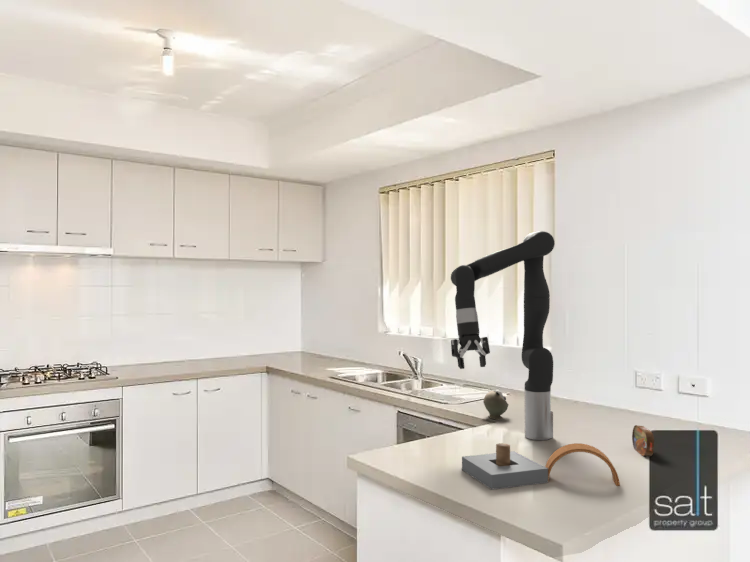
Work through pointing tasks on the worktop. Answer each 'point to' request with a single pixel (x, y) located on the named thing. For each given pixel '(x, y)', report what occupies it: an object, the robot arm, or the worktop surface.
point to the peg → (502, 454)
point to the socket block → (504, 470)
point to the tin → (643, 440)
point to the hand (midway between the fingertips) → (472, 367)
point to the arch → (581, 448)
